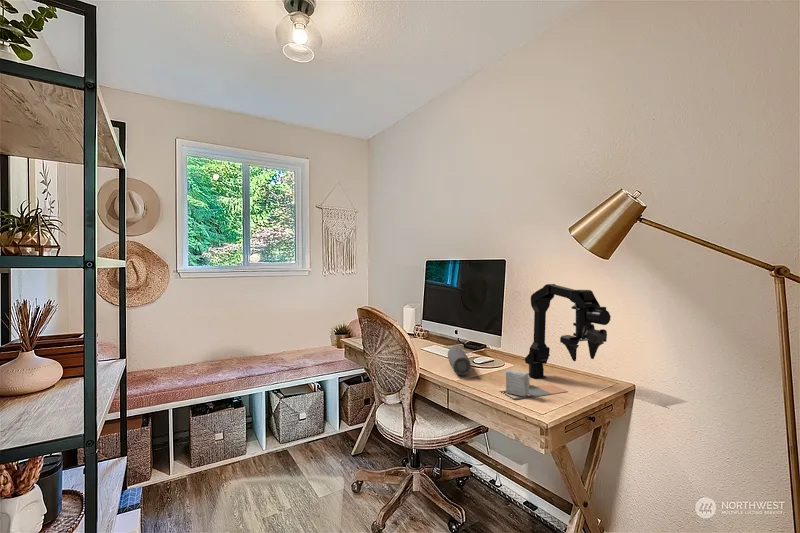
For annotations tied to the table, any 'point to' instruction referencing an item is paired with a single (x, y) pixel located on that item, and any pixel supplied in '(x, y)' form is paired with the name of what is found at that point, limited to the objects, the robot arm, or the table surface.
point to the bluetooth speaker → (459, 360)
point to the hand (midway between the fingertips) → (583, 360)
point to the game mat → (540, 391)
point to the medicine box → (517, 383)
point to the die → (528, 381)
